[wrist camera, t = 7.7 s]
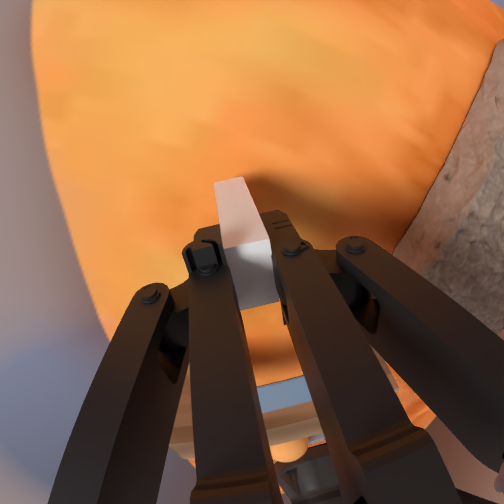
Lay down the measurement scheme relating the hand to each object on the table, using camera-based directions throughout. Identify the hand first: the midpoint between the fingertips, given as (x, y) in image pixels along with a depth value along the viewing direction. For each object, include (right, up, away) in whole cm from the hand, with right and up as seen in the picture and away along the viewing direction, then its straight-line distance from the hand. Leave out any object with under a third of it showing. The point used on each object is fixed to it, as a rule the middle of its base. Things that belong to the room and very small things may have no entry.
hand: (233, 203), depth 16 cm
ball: (+5, -26, +16) cm, 31 cm away
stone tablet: (+23, +1, +7) cm, 24 cm away
